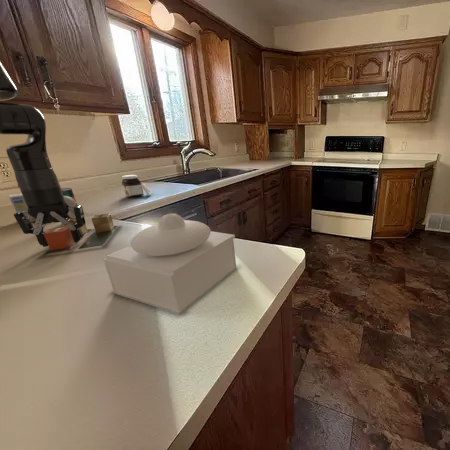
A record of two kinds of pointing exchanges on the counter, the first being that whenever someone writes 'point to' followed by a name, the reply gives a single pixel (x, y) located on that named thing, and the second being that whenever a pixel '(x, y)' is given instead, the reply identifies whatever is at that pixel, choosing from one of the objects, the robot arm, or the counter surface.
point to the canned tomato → (68, 193)
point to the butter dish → (171, 263)
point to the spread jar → (133, 186)
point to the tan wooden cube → (82, 229)
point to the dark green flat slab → (88, 241)
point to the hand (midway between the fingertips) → (62, 243)
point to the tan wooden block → (103, 223)
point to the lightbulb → (70, 202)
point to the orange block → (59, 238)
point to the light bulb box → (20, 204)
